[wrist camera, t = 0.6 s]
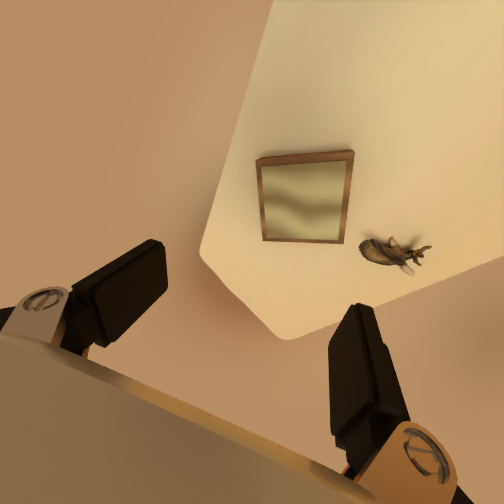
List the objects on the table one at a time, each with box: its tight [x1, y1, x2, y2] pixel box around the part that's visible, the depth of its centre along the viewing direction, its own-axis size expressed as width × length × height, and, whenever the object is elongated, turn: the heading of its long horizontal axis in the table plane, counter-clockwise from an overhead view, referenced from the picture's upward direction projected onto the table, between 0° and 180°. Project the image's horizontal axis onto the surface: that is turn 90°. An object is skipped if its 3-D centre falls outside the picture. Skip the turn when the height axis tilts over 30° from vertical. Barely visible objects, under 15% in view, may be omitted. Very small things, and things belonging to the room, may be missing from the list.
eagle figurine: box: [359, 237, 432, 276], centre depth 37 cm, size 8×7×9 cm
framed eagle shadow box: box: [256, 150, 355, 244], centre depth 37 cm, size 15×15×5 cm
